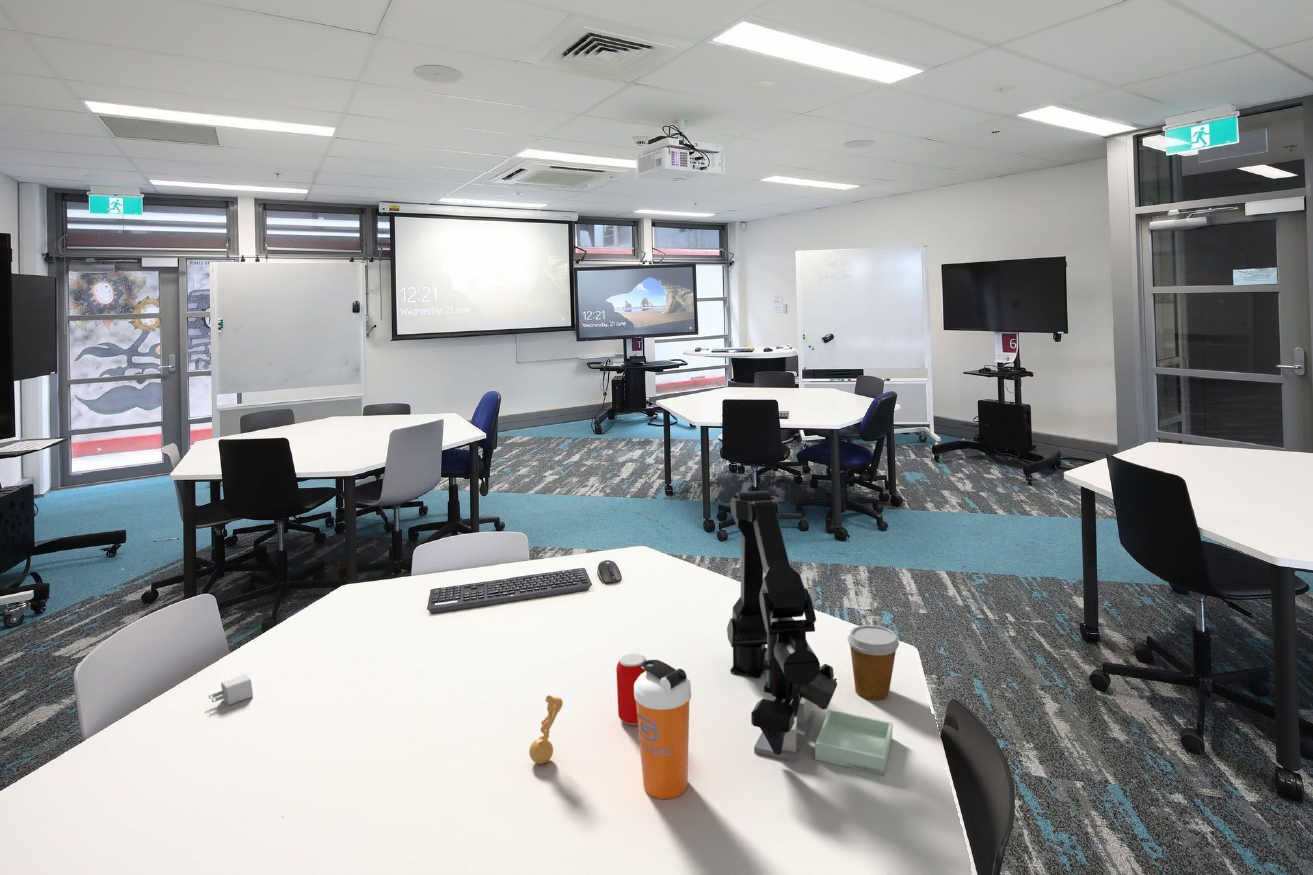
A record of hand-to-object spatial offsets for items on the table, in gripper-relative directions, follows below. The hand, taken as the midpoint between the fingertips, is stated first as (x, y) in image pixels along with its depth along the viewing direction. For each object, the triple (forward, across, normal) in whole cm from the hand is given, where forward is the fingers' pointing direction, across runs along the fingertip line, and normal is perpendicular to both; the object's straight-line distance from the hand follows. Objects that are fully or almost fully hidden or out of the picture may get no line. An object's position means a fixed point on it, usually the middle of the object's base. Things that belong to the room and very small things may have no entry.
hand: (784, 739), depth 121 cm
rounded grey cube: (+1, 0, 0) cm, 1 cm away
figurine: (+2, -19, +36) cm, 41 cm away
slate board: (+2, +4, +1) cm, 5 cm away
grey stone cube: (+1, +9, 0) cm, 9 cm away
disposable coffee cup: (+2, +24, -11) cm, 27 cm away
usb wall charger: (+2, -26, +107) cm, 110 cm away
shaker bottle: (+2, -16, +15) cm, 22 cm away
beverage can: (+2, -2, +28) cm, 28 cm away
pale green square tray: (+2, +4, -11) cm, 12 cm away
